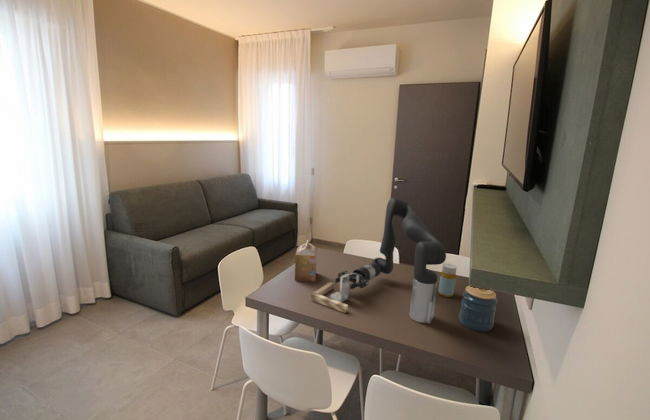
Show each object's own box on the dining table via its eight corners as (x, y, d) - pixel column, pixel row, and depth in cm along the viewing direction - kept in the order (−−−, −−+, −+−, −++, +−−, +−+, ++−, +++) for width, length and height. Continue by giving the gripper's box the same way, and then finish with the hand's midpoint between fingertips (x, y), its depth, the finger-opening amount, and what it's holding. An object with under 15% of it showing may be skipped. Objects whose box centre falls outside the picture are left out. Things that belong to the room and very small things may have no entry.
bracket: (347, 299, 144) (349, 274, 142) (340, 302, 141) (342, 278, 138) (337, 293, 149) (338, 270, 146) (330, 297, 145) (331, 273, 142)
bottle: (437, 295, 152) (441, 266, 149) (439, 289, 158) (443, 262, 155) (452, 299, 149) (456, 269, 146) (454, 293, 155) (458, 265, 152)
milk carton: (315, 281, 161) (316, 246, 157) (294, 280, 161) (295, 245, 157) (316, 273, 171) (317, 240, 167) (296, 271, 171) (297, 238, 167)
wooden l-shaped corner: (362, 298, 145) (362, 292, 145) (345, 313, 132) (345, 306, 131) (329, 287, 155) (329, 281, 154) (310, 300, 142) (311, 294, 141)
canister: (497, 334, 122) (505, 293, 119) (462, 329, 125) (468, 288, 121) (487, 317, 135) (494, 279, 131) (455, 312, 137) (461, 275, 133)
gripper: (353, 262, 156) (331, 271, 144) (377, 271, 147) (356, 281, 135) (352, 276, 158) (330, 286, 146) (375, 286, 148) (355, 297, 136)
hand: (343, 283), depth 140 cm, fingers open, 8 cm apart
